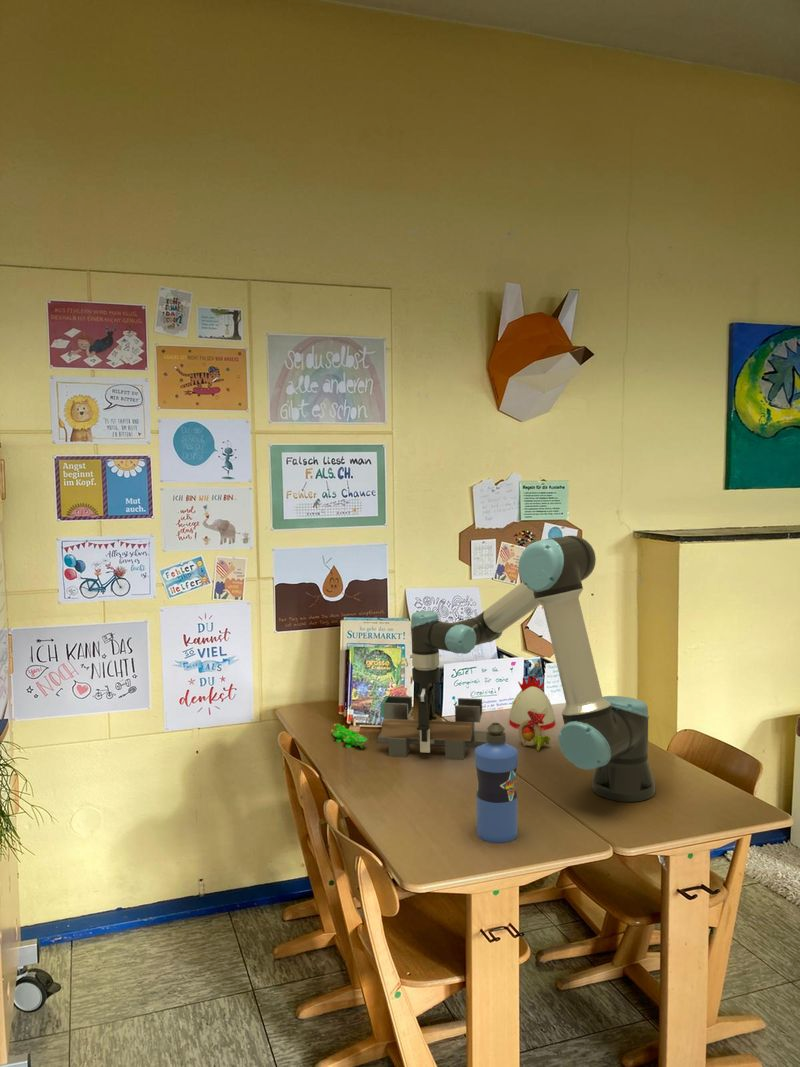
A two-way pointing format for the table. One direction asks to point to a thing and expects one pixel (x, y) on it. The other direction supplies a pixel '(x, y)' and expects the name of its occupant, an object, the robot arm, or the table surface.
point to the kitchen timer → (531, 705)
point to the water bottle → (496, 787)
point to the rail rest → (402, 747)
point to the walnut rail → (437, 728)
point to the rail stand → (463, 713)
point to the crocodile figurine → (348, 736)
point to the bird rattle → (528, 731)
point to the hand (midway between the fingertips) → (427, 747)
